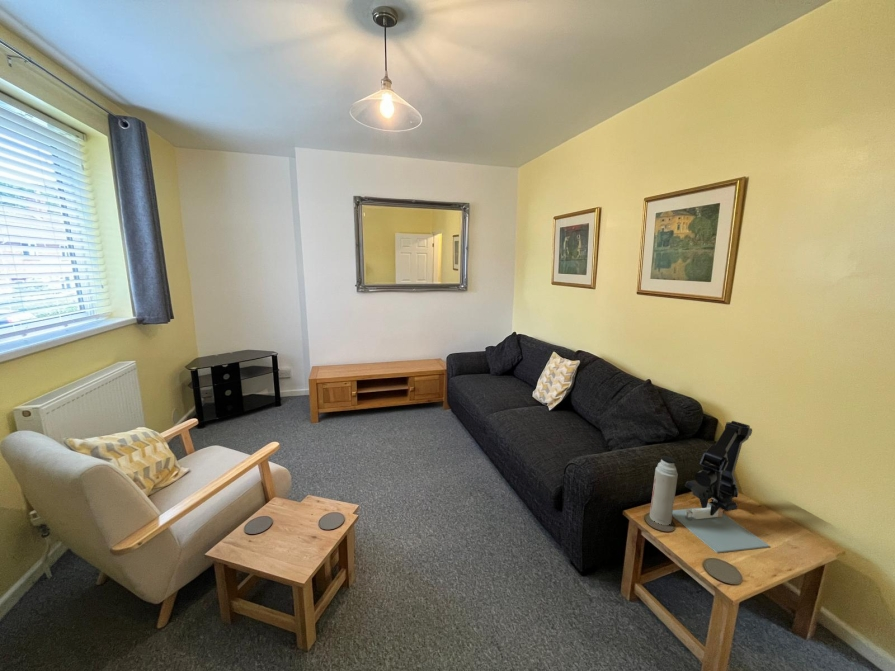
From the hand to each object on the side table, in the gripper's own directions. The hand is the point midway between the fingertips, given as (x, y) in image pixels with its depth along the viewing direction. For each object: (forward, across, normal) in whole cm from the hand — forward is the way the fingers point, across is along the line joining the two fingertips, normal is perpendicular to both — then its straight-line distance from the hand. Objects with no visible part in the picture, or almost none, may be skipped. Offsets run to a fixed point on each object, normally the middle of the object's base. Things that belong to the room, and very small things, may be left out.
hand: (707, 512), depth 151 cm
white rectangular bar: (+1, 0, -1) cm, 2 cm away
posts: (+2, -1, -2) cm, 3 cm away
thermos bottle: (+2, -4, -22) cm, 22 cm away
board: (+2, +6, -4) cm, 8 cm away
